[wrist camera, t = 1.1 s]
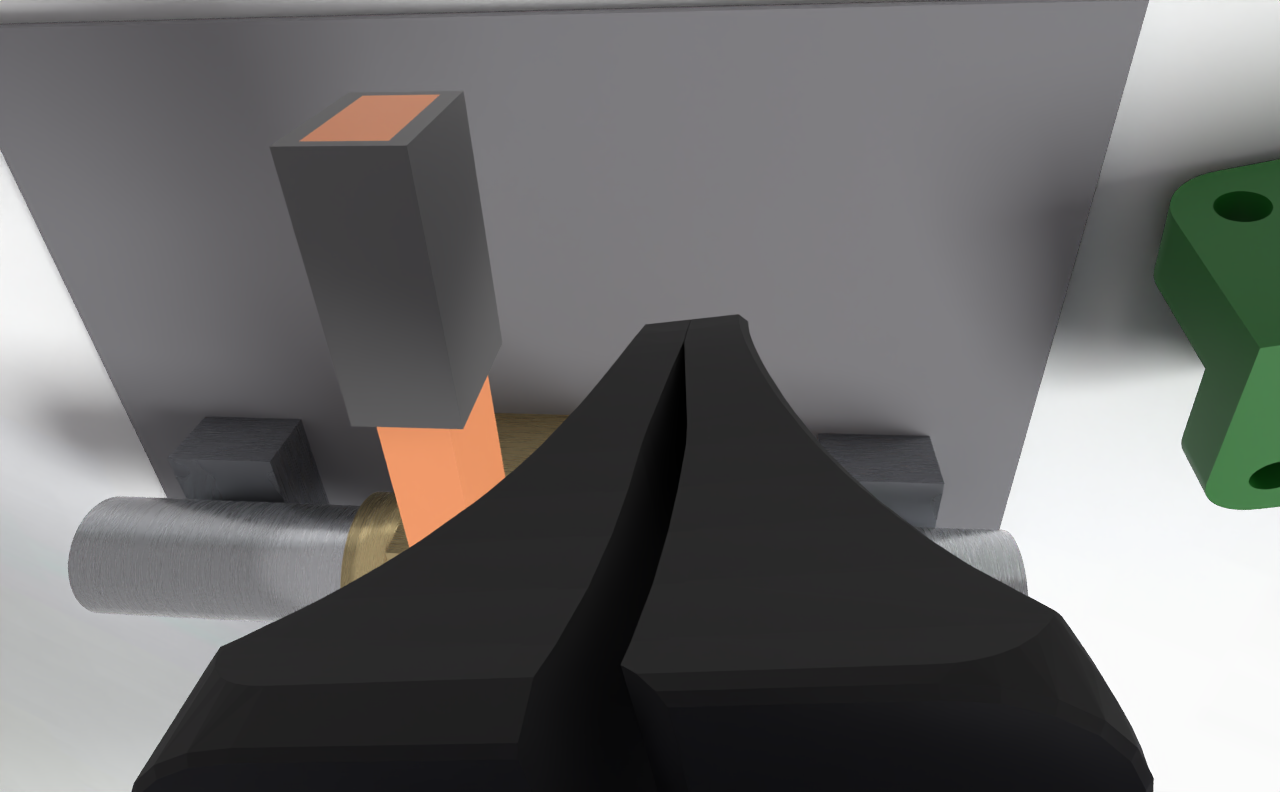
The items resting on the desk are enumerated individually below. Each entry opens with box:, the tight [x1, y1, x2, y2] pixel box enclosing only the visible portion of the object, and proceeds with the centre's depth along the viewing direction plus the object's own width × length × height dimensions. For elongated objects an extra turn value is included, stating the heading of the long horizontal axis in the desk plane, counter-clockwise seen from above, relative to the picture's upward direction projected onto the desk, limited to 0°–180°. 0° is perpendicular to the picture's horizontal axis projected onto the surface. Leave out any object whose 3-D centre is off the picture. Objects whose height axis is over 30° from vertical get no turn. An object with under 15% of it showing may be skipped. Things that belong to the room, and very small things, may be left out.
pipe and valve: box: [68, 413, 1028, 622], centre depth 23 cm, size 5×24×6 cm, turn 92°
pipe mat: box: [0, 0, 1149, 530], centre depth 23 cm, size 18×26×1 cm
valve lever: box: [269, 91, 505, 548], centre depth 15 cm, size 14×2×3 cm, turn 2°
